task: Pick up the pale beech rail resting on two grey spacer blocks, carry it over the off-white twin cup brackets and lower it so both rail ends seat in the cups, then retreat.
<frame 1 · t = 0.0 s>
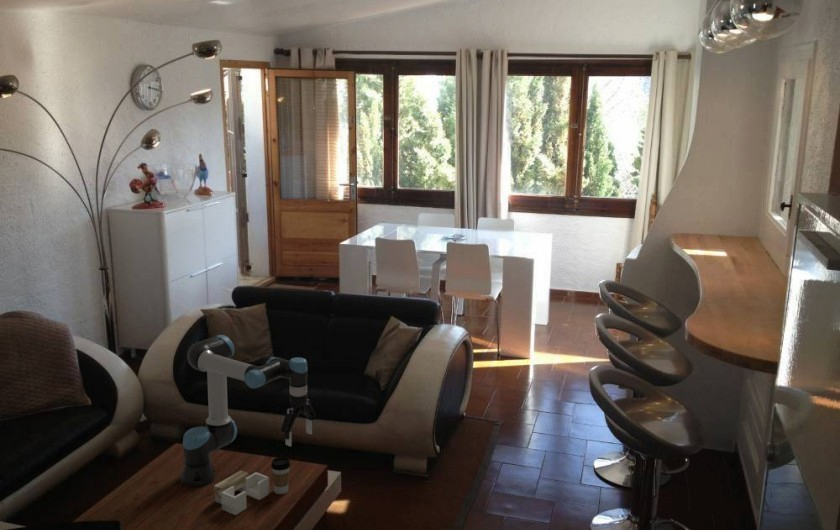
hand: (299, 439, 324), 28 cm above the table, fingers open, 13 cm apart
coffee cup: (281, 491, 335), on the table
rest blocks: (232, 495, 330), on the table
bracket pair: (246, 501, 326), on the table
rail: (231, 489, 329), point 3 cm above the table, touching rest blocks
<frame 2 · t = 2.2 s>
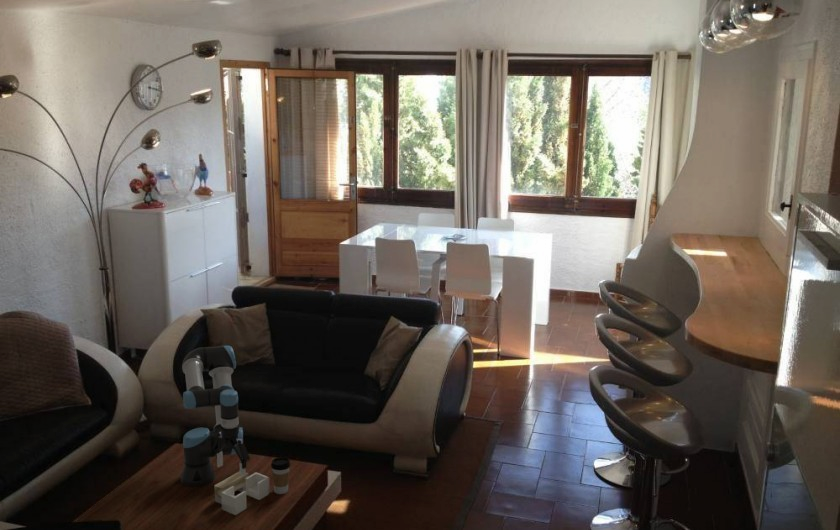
hand: (231, 470, 327), 12 cm above the table, fingers open, 13 cm apart
nothing on the table moved.
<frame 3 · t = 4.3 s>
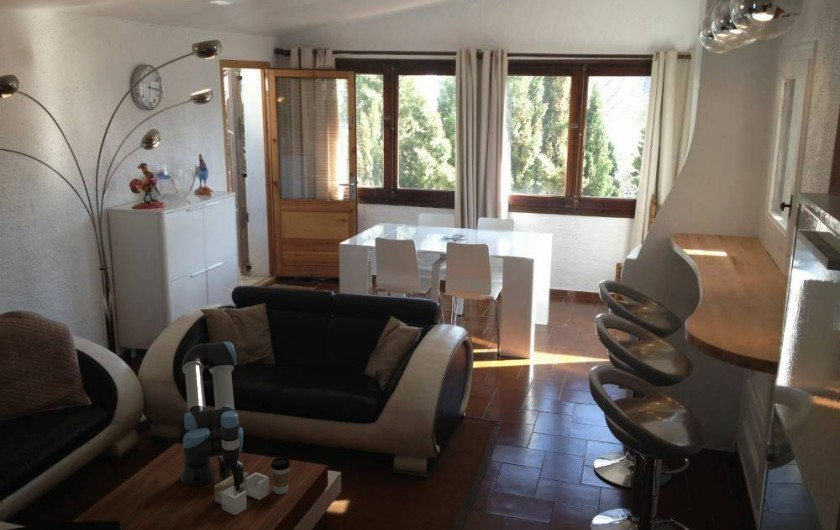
hand: (232, 495, 330), 0 cm above the table, fingers closed on rail, 4 cm apart
rail: (232, 489, 329), point 3 cm above the table, touching gripper, rest blocks
everything else where it was.
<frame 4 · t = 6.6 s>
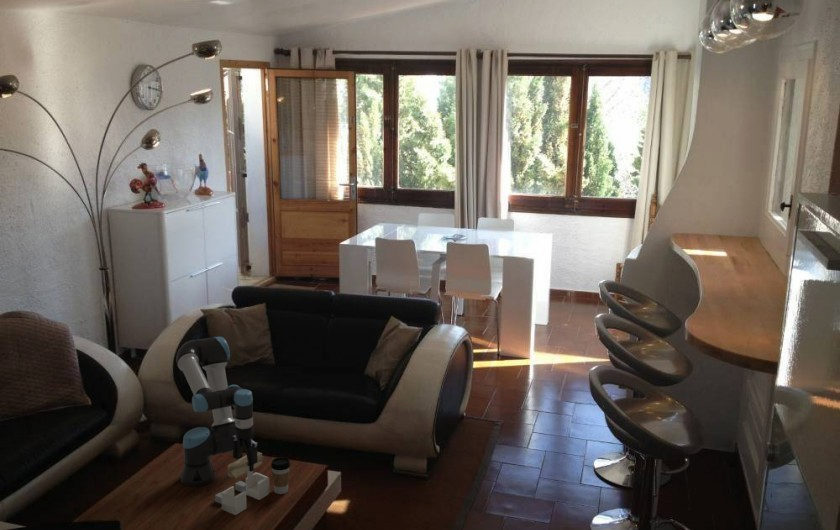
hand: (245, 475, 323), 13 cm above the table, fingers closed on rail, 4 cm apart
rail: (245, 469, 322), point 15 cm above the table, touching gripper
everything else where it was.
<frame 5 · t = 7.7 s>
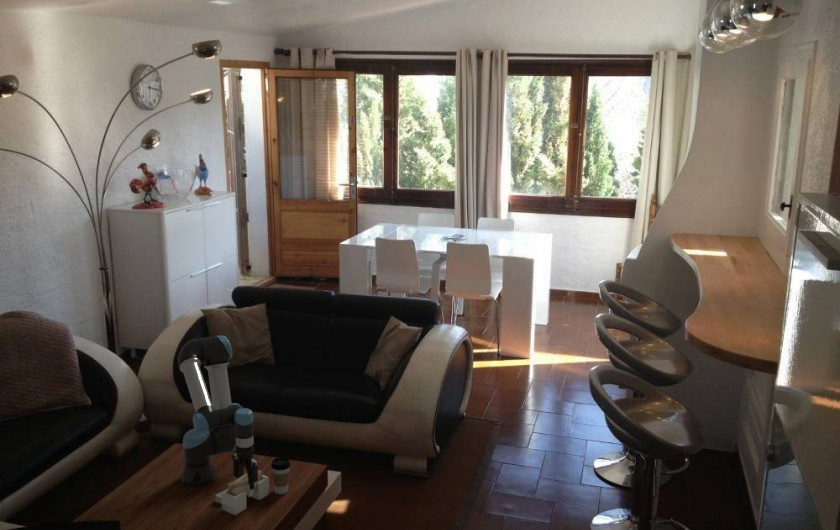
hand: (246, 493, 325), 4 cm above the table, fingers closed on rail, 4 cm apart
rail: (245, 487, 324), point 7 cm above the table, touching gripper
everything else where it was.
when the fingers open (1 cm above the table, at t = 8.7 s): rail drops 1 cm, resting on bracket pair.
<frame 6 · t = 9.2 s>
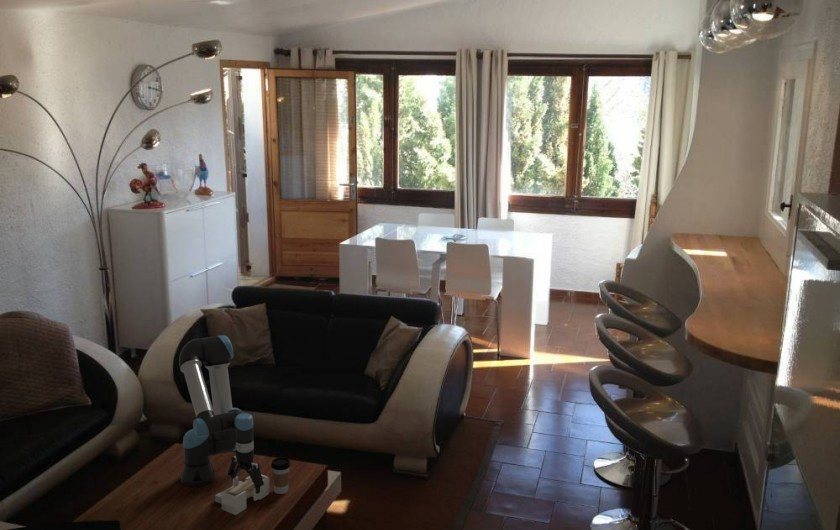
hand: (246, 495, 325), 3 cm above the table, fingers open, 11 cm apart
rail: (246, 495, 325), point 3 cm above the table, touching bracket pair
everything else where it was.
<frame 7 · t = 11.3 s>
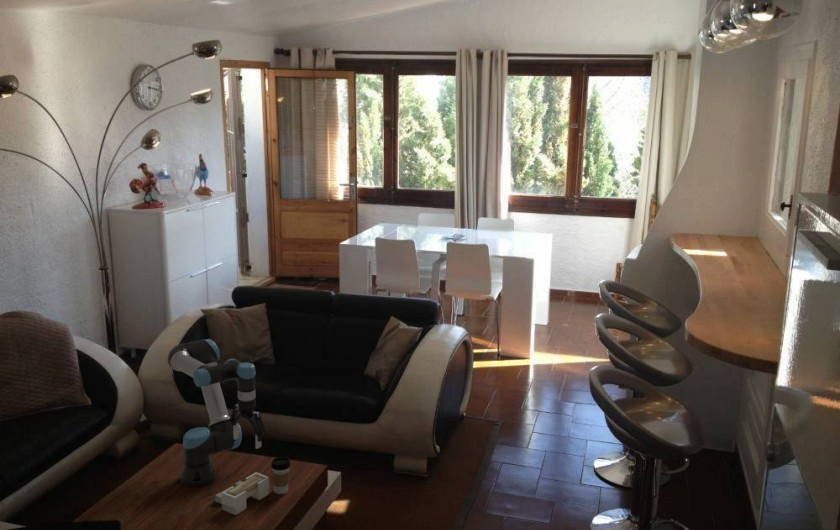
hand: (247, 442, 328), 24 cm above the table, fingers open, 13 cm apart
nothing on the table moved.
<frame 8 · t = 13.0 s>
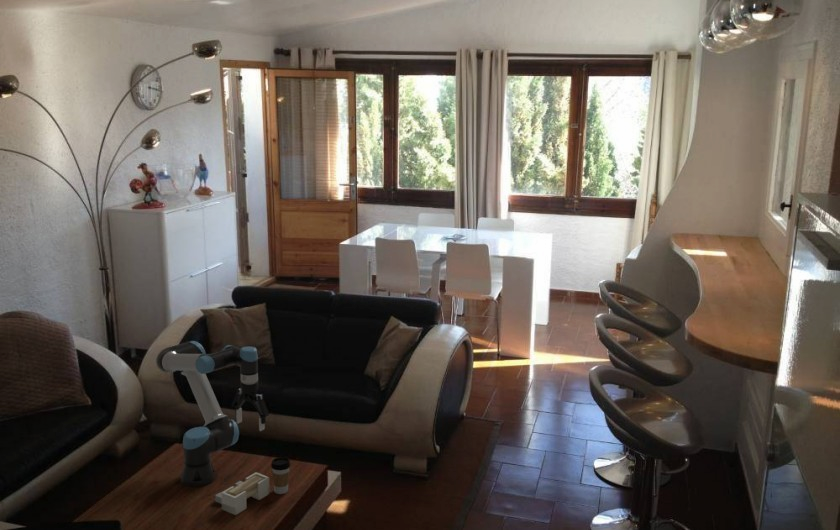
hand: (250, 426, 333), 29 cm above the table, fingers open, 13 cm apart
nothing on the table moved.
at the end: rail 0.0 cm off-centre on the bracket pair, point 3.0 cm above the bracket pair's base; rail tilted 0°; the gripper is holding nothing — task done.
